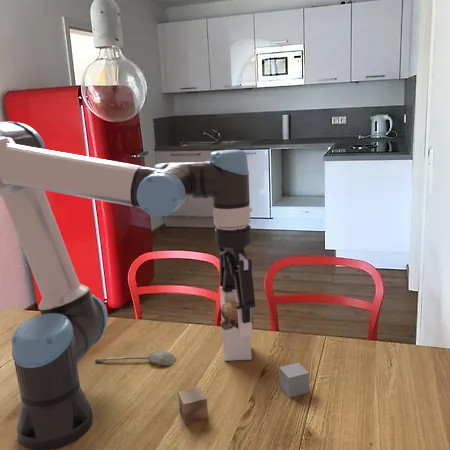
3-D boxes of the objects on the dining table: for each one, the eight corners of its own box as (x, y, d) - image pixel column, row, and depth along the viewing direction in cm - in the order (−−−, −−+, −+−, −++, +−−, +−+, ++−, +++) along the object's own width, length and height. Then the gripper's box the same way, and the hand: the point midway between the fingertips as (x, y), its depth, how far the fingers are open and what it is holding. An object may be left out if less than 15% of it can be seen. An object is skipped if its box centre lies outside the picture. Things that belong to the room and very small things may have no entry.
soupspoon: (174, 371, 125) (179, 359, 131) (174, 359, 124) (179, 348, 131) (91, 369, 127) (100, 357, 133) (90, 357, 126) (99, 346, 133)
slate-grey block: (289, 398, 109) (288, 378, 108) (279, 386, 113) (279, 367, 112) (309, 392, 110) (308, 372, 109) (299, 381, 115) (298, 362, 114)
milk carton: (251, 360, 126) (248, 291, 121) (224, 361, 126) (219, 292, 122) (250, 347, 133) (247, 281, 128) (224, 348, 133) (220, 282, 129)
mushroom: (206, 318, 104) (222, 295, 103) (222, 317, 111) (238, 296, 110) (232, 343, 101) (249, 319, 100) (247, 341, 108) (264, 318, 107)
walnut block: (185, 425, 101) (183, 404, 100) (179, 412, 106) (177, 391, 105) (208, 419, 103) (206, 398, 102) (201, 406, 108) (200, 386, 106)
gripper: (269, 234, 92) (274, 344, 98) (232, 214, 112) (237, 306, 117) (232, 239, 90) (239, 351, 95) (201, 218, 109) (207, 312, 115)
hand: (238, 326), depth 106 cm, fingers closed on mushroom, 8 cm apart
